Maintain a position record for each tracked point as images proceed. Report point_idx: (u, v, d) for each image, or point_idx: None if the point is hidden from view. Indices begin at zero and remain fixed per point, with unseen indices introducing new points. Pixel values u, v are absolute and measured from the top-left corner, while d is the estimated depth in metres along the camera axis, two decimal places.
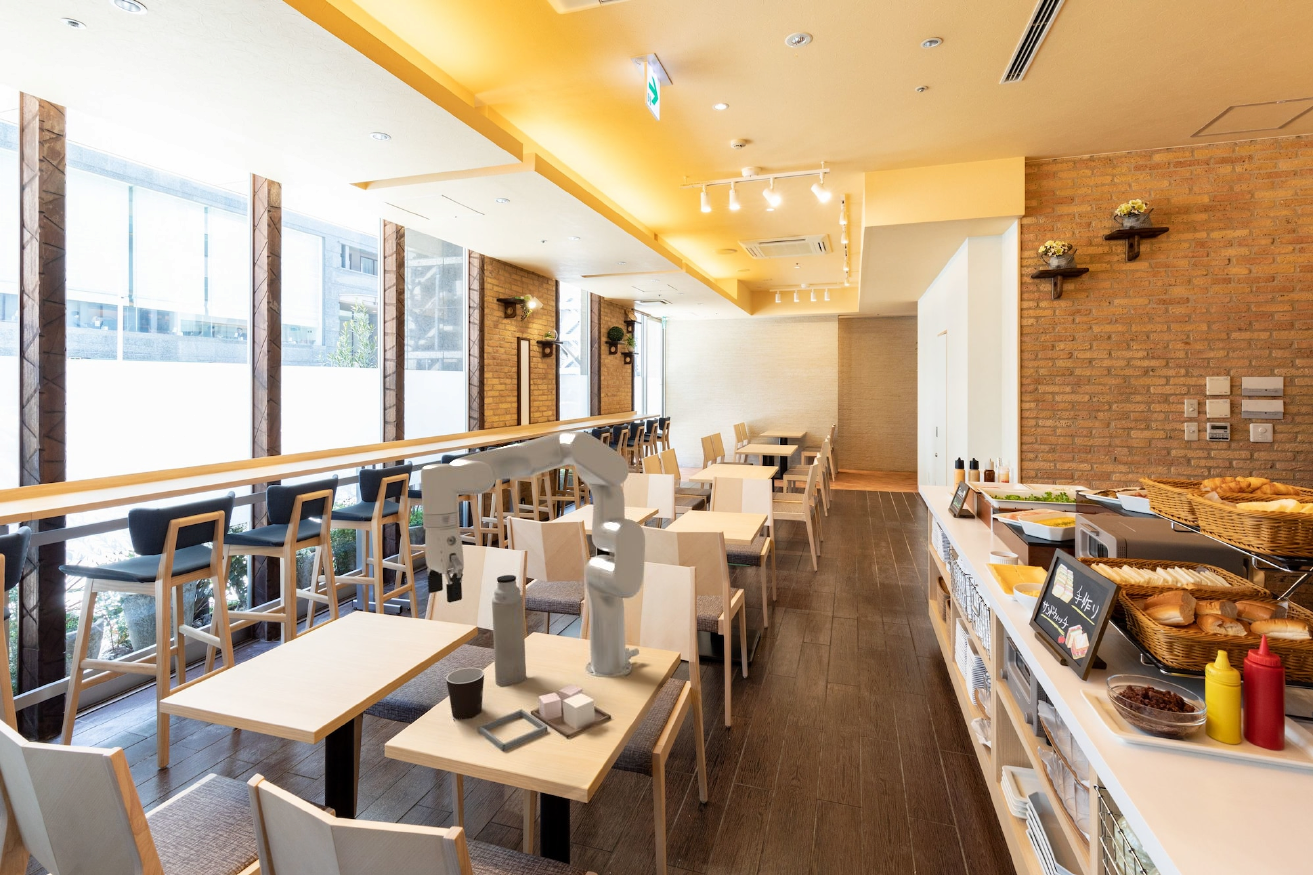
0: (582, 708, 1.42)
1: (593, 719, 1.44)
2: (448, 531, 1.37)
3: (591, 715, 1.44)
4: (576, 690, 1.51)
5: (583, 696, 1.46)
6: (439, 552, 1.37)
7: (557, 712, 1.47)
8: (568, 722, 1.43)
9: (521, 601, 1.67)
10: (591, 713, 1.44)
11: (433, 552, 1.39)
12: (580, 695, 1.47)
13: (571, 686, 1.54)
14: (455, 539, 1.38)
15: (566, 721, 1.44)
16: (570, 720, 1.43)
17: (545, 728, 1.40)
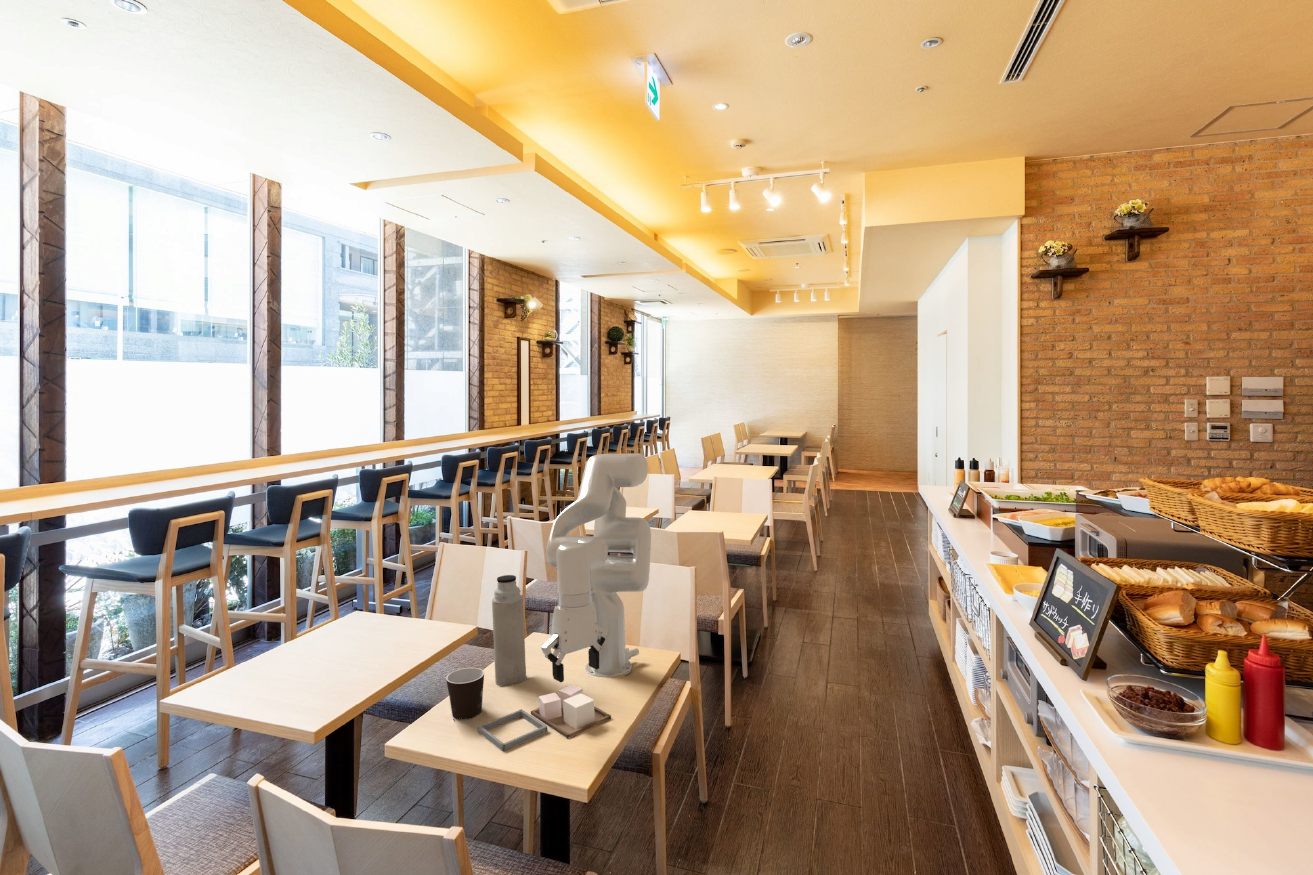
0: (582, 708, 1.42)
1: (593, 719, 1.44)
2: None
3: (591, 715, 1.44)
4: (576, 690, 1.51)
5: (583, 696, 1.46)
6: (593, 624, 1.44)
7: (557, 712, 1.47)
8: (568, 722, 1.43)
9: (521, 601, 1.67)
10: (591, 713, 1.44)
11: (584, 629, 1.42)
12: (580, 695, 1.47)
13: (571, 686, 1.54)
14: None
15: (566, 721, 1.44)
16: (570, 720, 1.43)
17: (545, 728, 1.40)
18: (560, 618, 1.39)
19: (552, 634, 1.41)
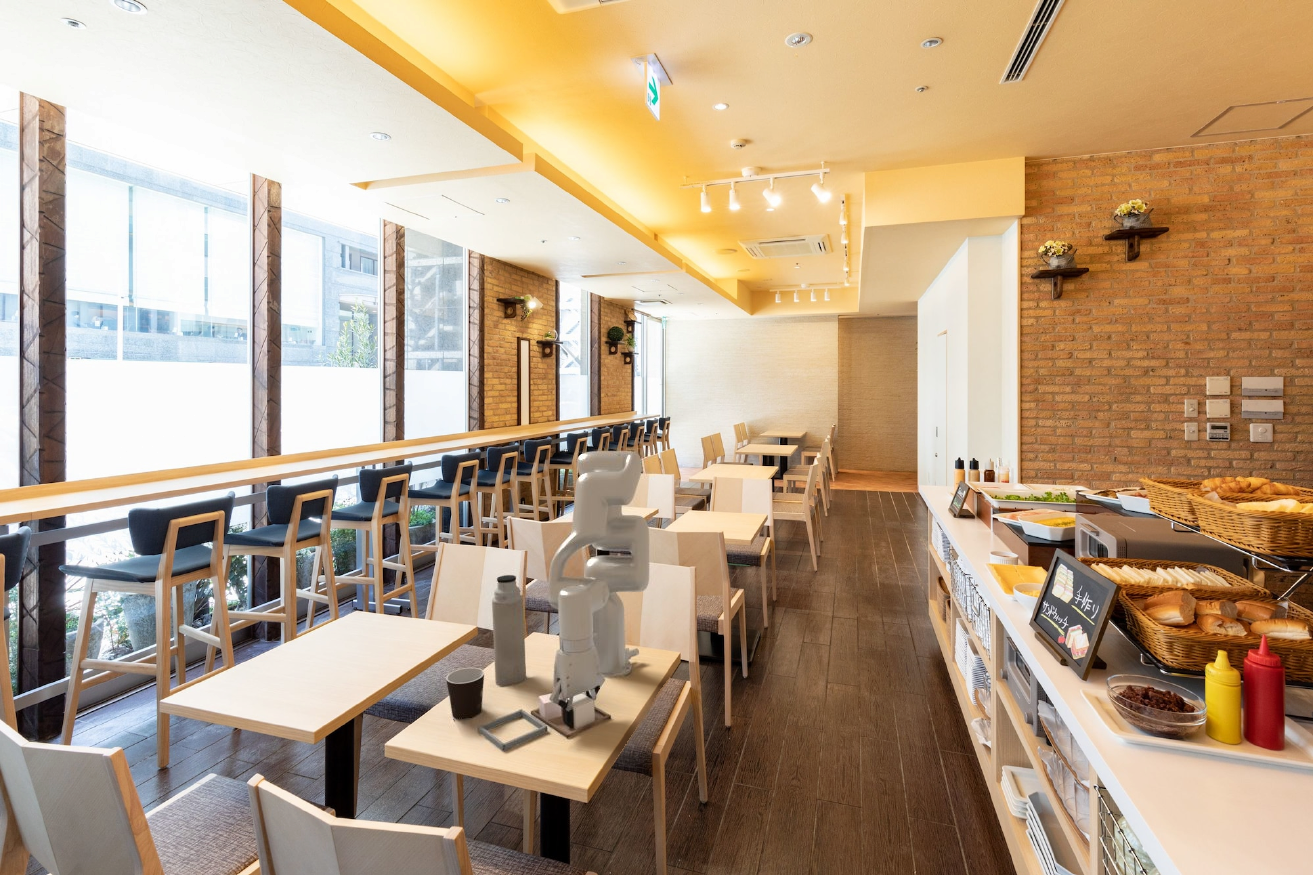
0: (582, 708, 1.42)
1: (593, 719, 1.44)
2: None
3: (591, 715, 1.44)
4: None
5: (583, 696, 1.46)
6: (595, 667, 1.45)
7: (557, 712, 1.47)
8: None
9: (521, 601, 1.67)
10: (591, 713, 1.44)
11: (586, 673, 1.43)
12: (580, 695, 1.47)
13: None
14: None
15: None
16: None
17: (545, 728, 1.40)
18: (562, 663, 1.40)
19: (554, 678, 1.42)
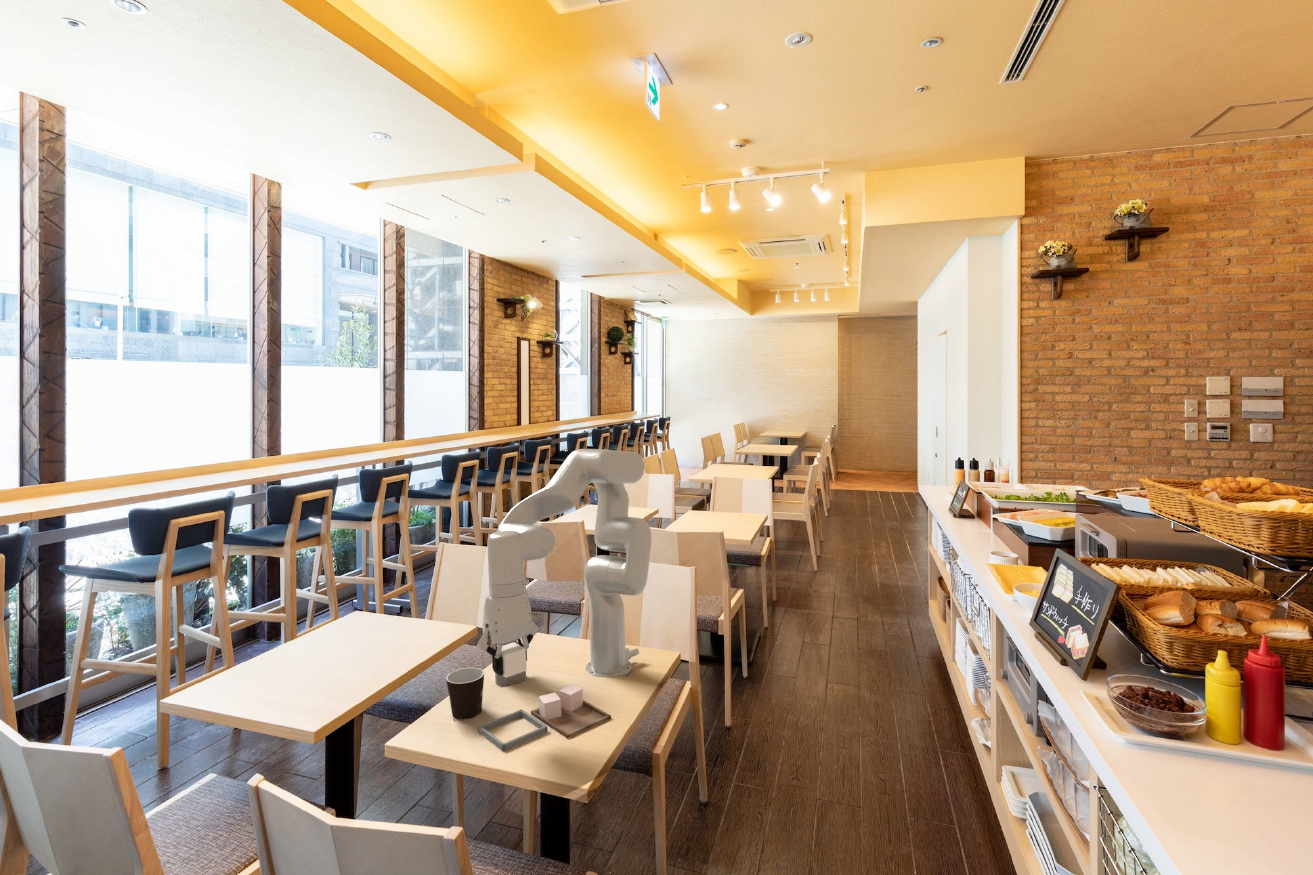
0: (512, 656, 1.37)
1: (524, 668, 1.40)
2: None
3: (522, 664, 1.39)
4: (576, 690, 1.51)
5: (515, 645, 1.42)
6: (527, 614, 1.40)
7: (557, 712, 1.47)
8: None
9: None
10: (522, 661, 1.39)
11: (517, 620, 1.38)
12: (512, 644, 1.42)
13: (571, 686, 1.54)
14: None
15: None
16: None
17: (545, 728, 1.40)
18: (490, 608, 1.35)
19: (483, 625, 1.37)
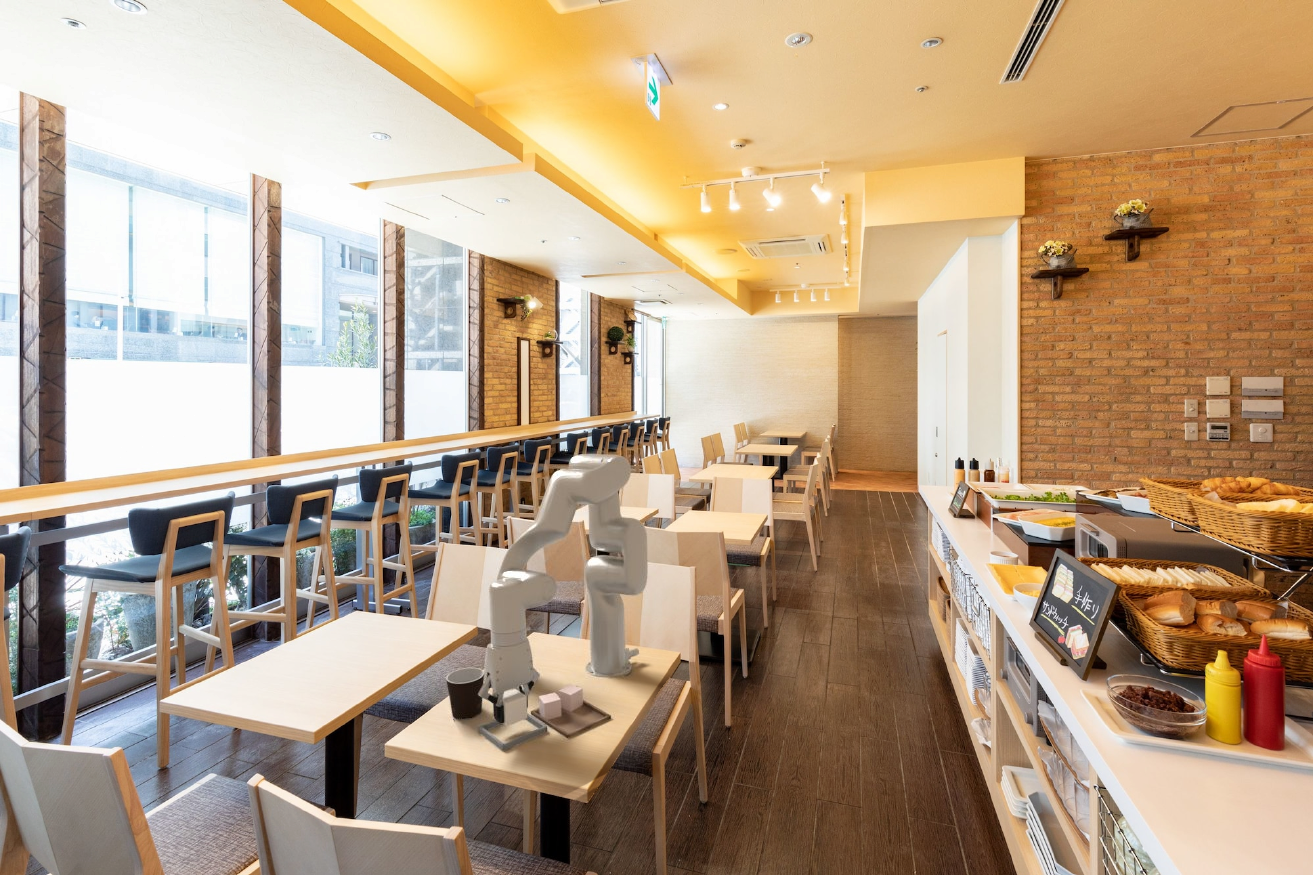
0: (513, 704, 1.38)
1: (525, 716, 1.40)
2: None
3: (523, 711, 1.40)
4: (576, 690, 1.51)
5: (516, 692, 1.42)
6: (528, 662, 1.41)
7: (557, 712, 1.47)
8: None
9: None
10: (523, 709, 1.40)
11: (518, 668, 1.39)
12: (513, 691, 1.43)
13: (571, 686, 1.54)
14: None
15: None
16: None
17: (545, 728, 1.40)
18: (492, 657, 1.36)
19: (485, 673, 1.38)
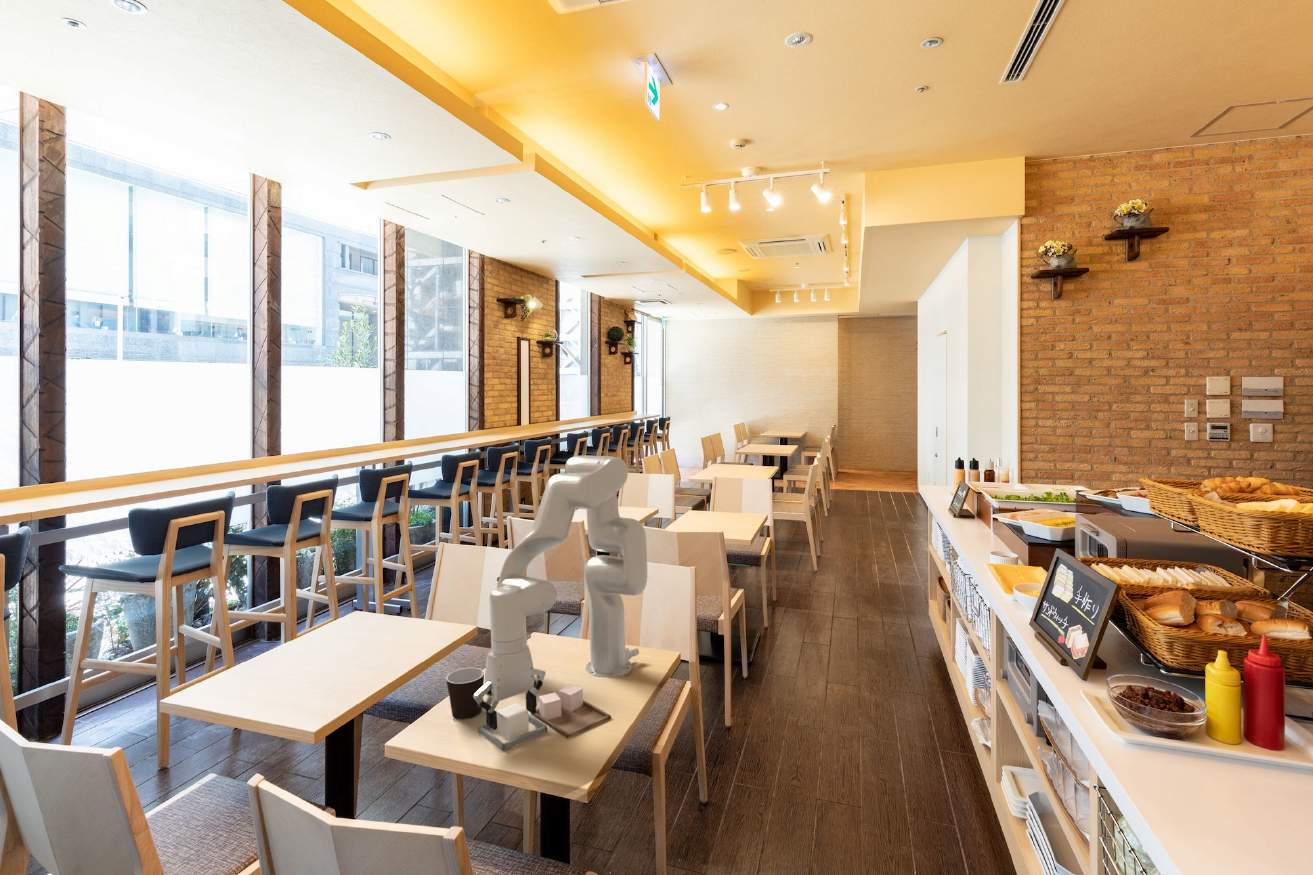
0: (515, 719, 1.38)
1: (527, 730, 1.41)
2: None
3: (525, 726, 1.40)
4: (576, 690, 1.51)
5: (517, 706, 1.43)
6: (529, 669, 1.41)
7: (557, 712, 1.47)
8: (501, 733, 1.40)
9: None
10: (525, 723, 1.40)
11: (519, 675, 1.39)
12: (515, 705, 1.43)
13: (571, 686, 1.54)
14: None
15: (499, 732, 1.40)
16: (503, 731, 1.39)
17: (545, 728, 1.40)
18: (492, 665, 1.36)
19: (485, 681, 1.38)
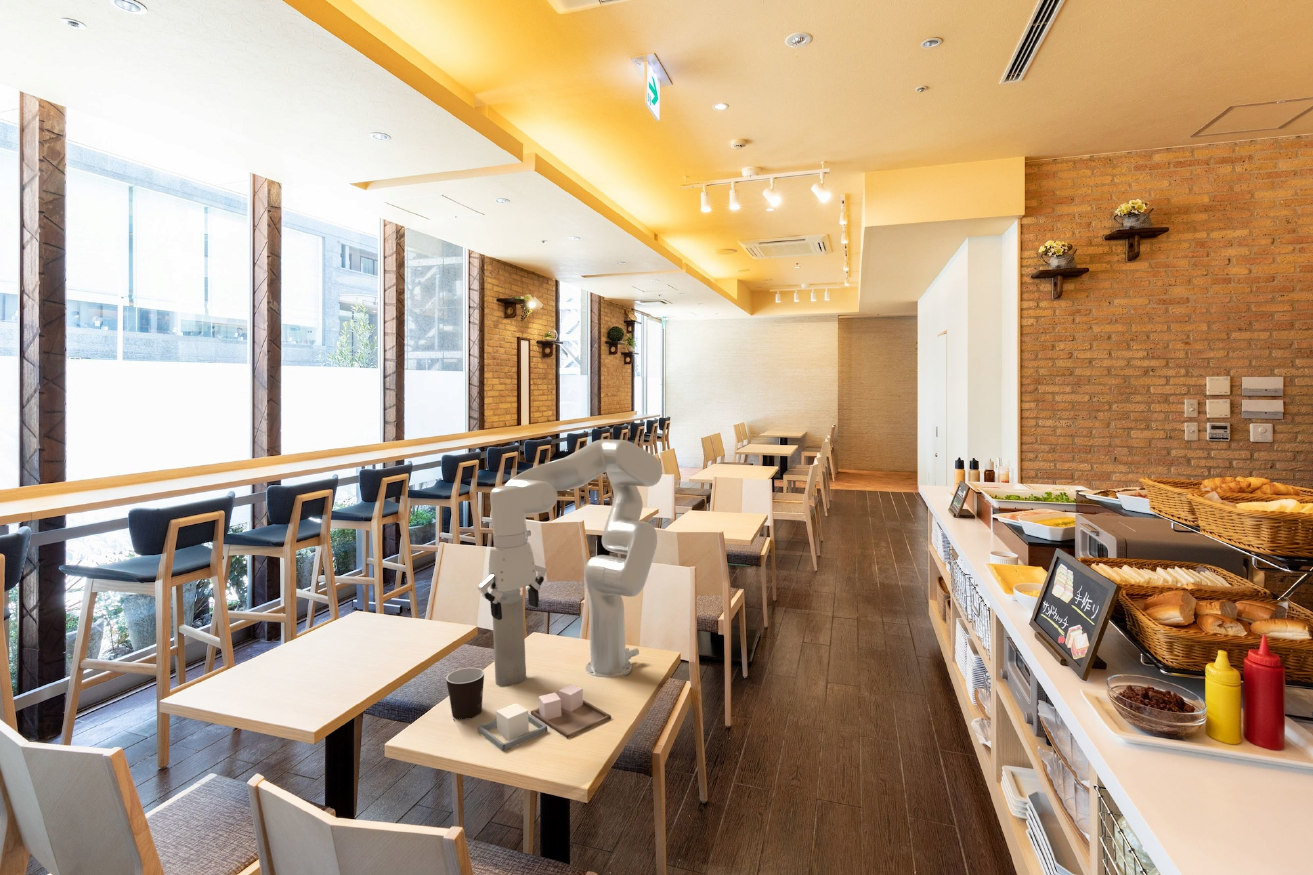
0: (515, 719, 1.38)
1: (527, 730, 1.41)
2: None
3: (525, 726, 1.40)
4: (576, 690, 1.51)
5: (517, 706, 1.43)
6: (530, 564, 1.47)
7: (557, 712, 1.47)
8: (501, 733, 1.40)
9: (521, 601, 1.67)
10: (525, 723, 1.40)
11: (521, 569, 1.45)
12: (515, 705, 1.43)
13: (571, 686, 1.54)
14: None
15: (499, 732, 1.40)
16: (503, 731, 1.39)
17: (545, 728, 1.40)
18: (495, 558, 1.42)
19: (489, 574, 1.44)
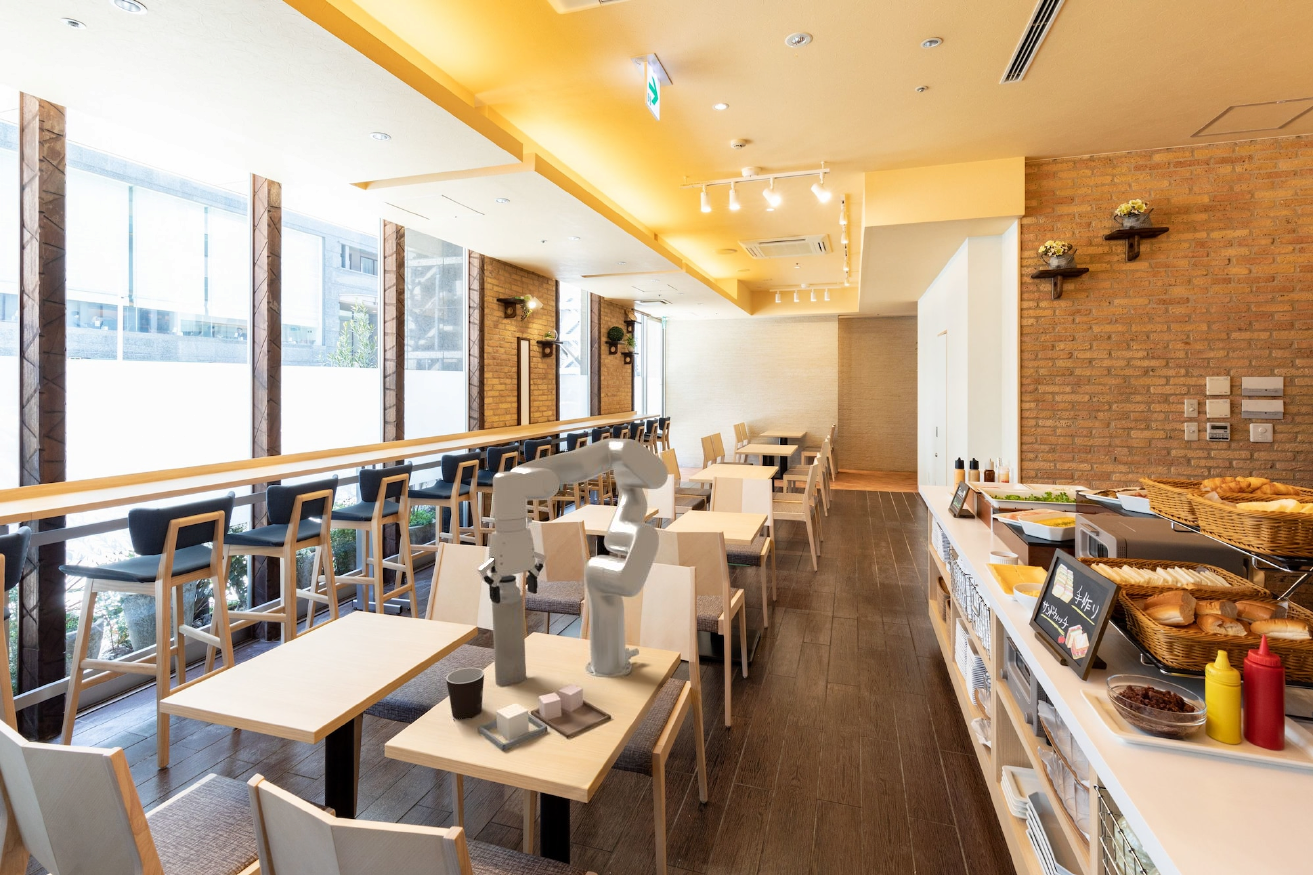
0: (515, 719, 1.38)
1: (527, 730, 1.41)
2: None
3: (525, 726, 1.40)
4: (576, 690, 1.51)
5: (517, 706, 1.43)
6: (530, 550, 1.49)
7: (557, 712, 1.47)
8: (501, 733, 1.40)
9: (521, 601, 1.67)
10: (525, 723, 1.40)
11: (520, 554, 1.47)
12: (515, 705, 1.43)
13: (571, 686, 1.54)
14: None
15: (499, 732, 1.40)
16: (503, 731, 1.39)
17: (545, 728, 1.40)
18: (496, 542, 1.44)
19: (489, 558, 1.46)
